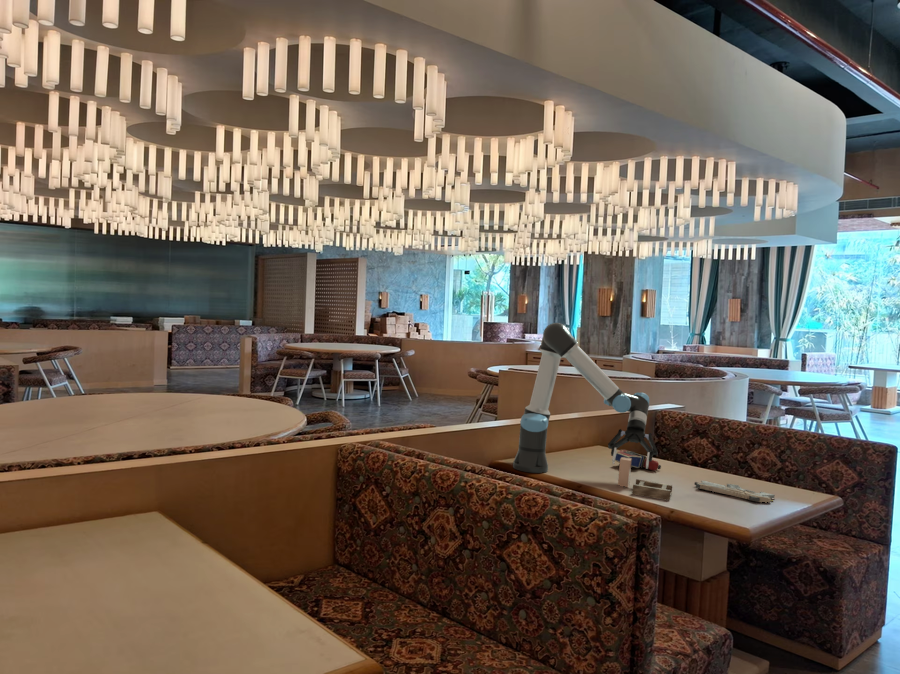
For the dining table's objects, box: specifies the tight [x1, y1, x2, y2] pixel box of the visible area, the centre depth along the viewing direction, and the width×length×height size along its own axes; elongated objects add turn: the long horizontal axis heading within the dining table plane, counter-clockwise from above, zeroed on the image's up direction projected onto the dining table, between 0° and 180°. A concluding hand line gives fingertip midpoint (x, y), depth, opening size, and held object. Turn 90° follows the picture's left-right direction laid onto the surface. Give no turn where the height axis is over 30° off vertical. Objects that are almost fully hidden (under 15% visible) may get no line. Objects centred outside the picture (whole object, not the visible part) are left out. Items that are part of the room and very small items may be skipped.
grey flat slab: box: [694, 480, 776, 504], centre depth 280 cm, size 30×3×20 cm
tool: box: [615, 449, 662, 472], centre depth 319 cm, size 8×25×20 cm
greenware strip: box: [617, 457, 632, 488], centre depth 278 cm, size 4×5×11 cm
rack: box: [631, 479, 673, 501], centre depth 267 cm, size 14×12×4 cm
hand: (629, 464), depth 280 cm, fingers open, 13 cm apart
